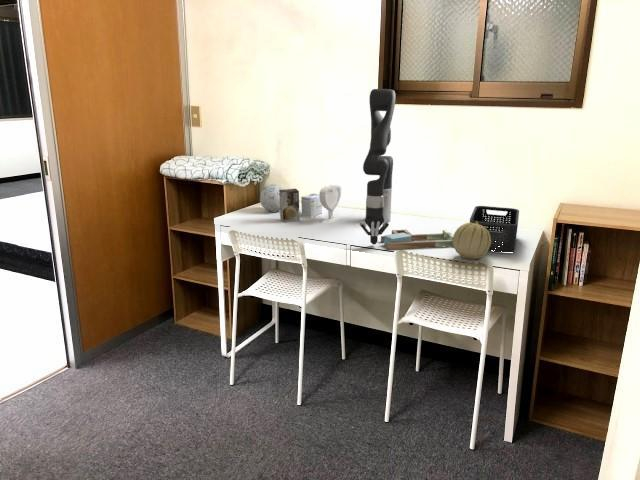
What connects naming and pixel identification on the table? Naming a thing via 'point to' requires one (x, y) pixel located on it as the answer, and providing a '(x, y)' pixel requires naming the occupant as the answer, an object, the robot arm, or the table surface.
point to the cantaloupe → (471, 240)
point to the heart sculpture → (330, 200)
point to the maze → (422, 244)
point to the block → (397, 238)
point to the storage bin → (498, 226)
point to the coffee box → (289, 205)
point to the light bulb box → (311, 205)
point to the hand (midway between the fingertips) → (373, 243)
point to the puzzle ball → (271, 198)
